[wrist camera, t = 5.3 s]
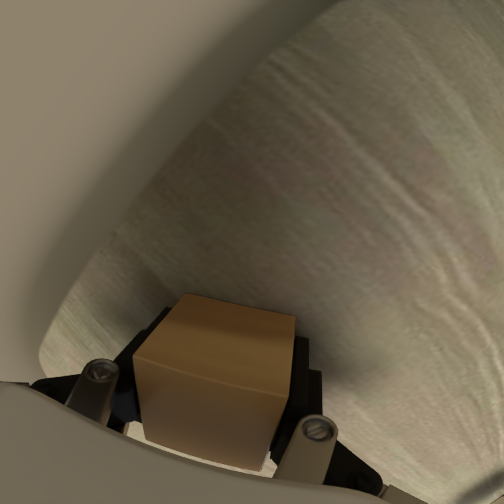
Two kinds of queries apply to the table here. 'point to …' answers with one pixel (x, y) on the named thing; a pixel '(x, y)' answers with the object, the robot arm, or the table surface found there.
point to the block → (216, 380)
